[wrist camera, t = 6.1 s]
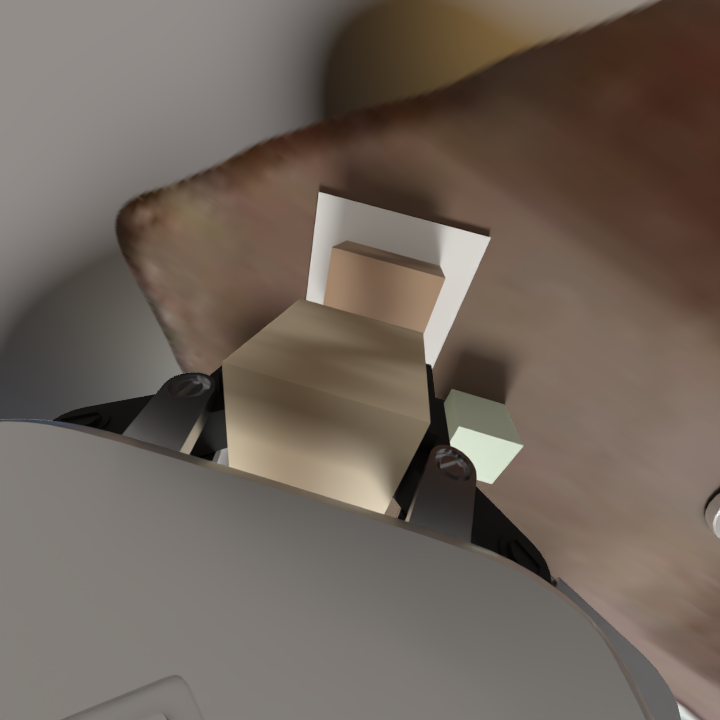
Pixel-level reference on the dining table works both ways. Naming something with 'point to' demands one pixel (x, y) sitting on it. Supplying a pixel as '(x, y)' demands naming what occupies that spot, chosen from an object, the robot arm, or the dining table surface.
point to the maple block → (328, 403)
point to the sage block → (482, 433)
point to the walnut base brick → (382, 285)
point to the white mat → (402, 237)
